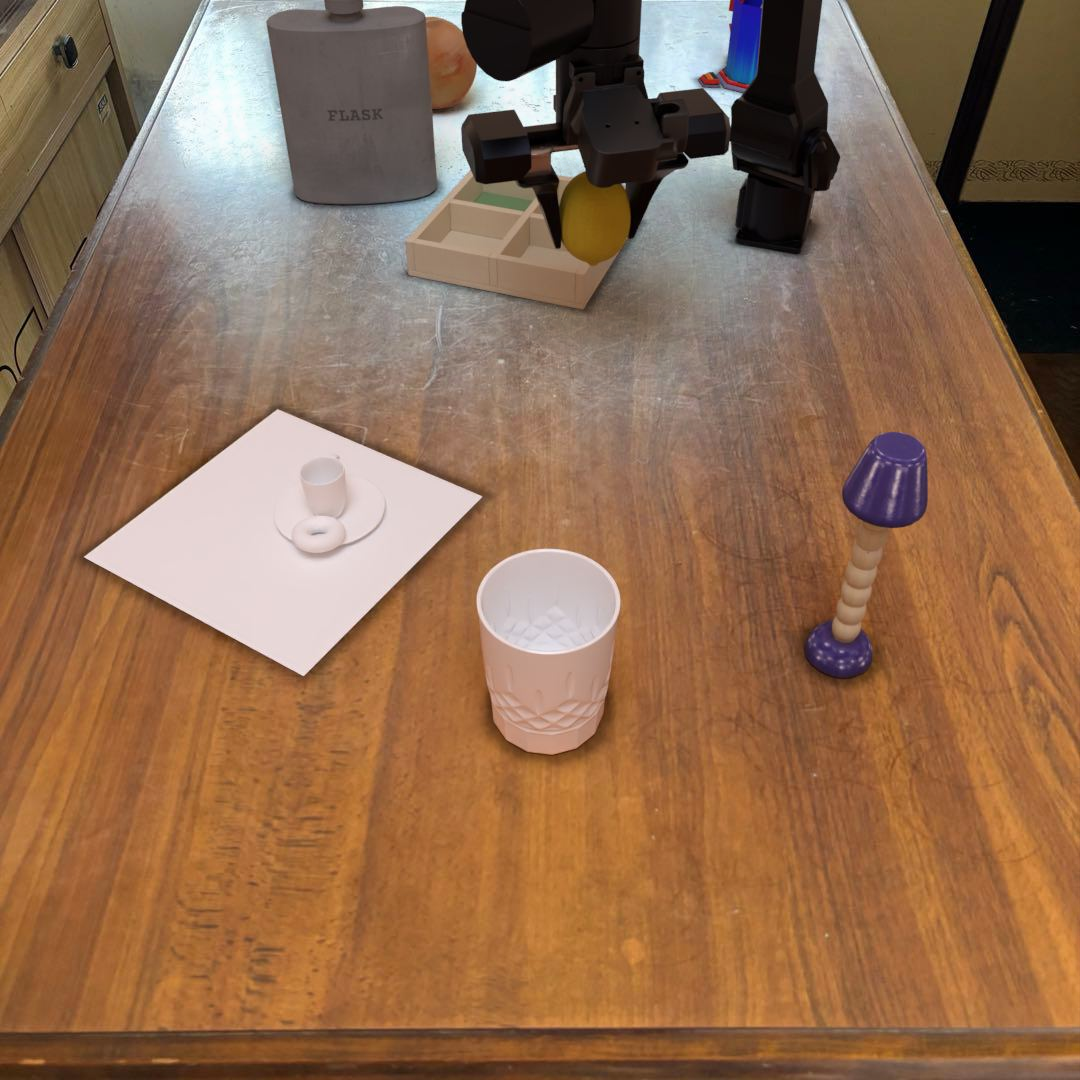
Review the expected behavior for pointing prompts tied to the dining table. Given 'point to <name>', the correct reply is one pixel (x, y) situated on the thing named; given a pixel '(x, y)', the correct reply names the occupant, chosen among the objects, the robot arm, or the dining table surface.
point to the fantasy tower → (739, 48)
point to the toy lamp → (870, 544)
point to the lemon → (593, 220)
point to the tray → (500, 246)
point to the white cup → (548, 646)
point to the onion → (448, 63)
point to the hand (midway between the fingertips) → (592, 241)
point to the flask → (355, 102)
